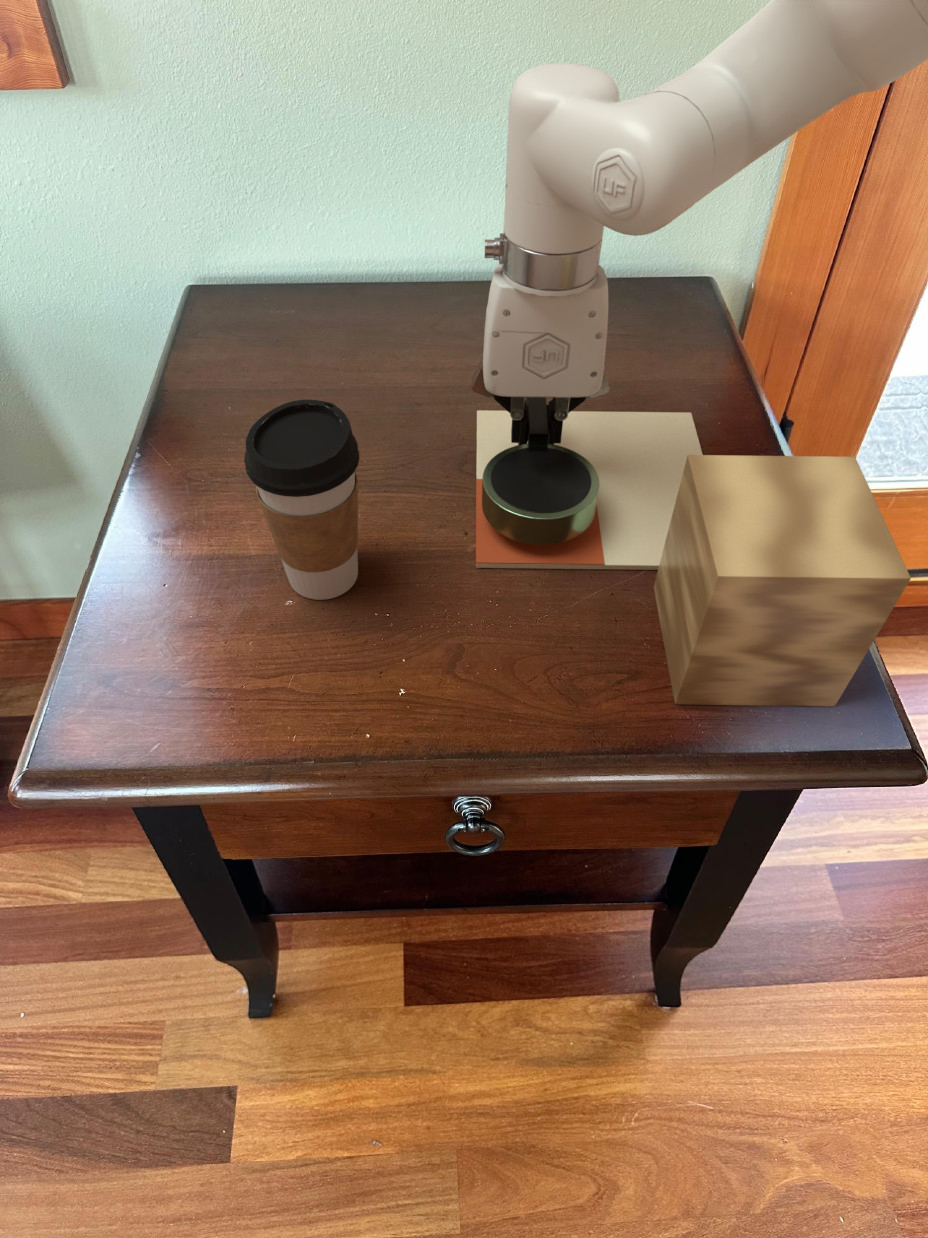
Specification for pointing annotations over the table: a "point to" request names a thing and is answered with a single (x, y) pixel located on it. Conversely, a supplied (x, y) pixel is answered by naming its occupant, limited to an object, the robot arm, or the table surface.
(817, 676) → the block
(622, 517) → the mat
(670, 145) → the robot arm
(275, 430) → the coffee cup
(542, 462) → the pan
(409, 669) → the table surface
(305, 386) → the table surface
